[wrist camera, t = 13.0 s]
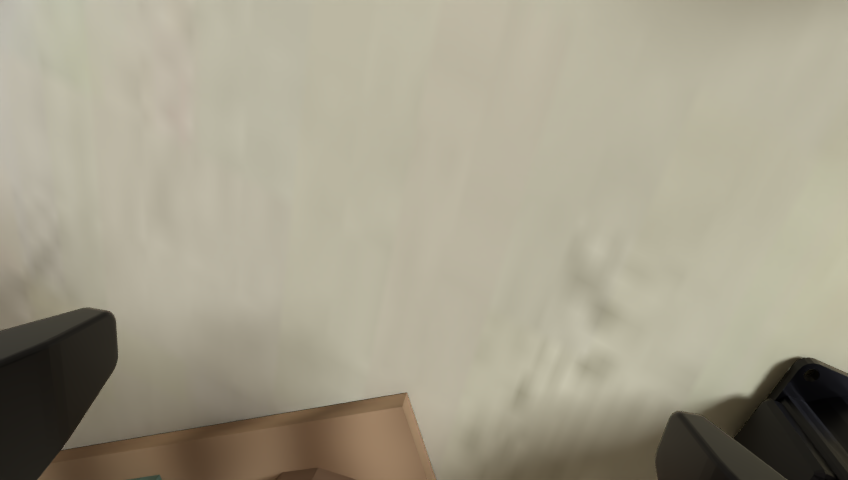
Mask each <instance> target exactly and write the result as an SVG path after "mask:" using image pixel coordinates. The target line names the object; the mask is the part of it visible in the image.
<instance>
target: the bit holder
mask: <svg viewBox="0 0 848 480" xmlns="http://www.w3.org/2000/svg"><path fill="white" fill-rule="evenodd" d="M38 480H436V478H435V475H434V472H433V469H432V466H431V463H430V460H429V457H428V454H427V451H426V448H425V445H424V442H423V439H422V436H421V433H420V430H419V427H418V424H417V421H416V418H415V415H414V412H413V409H412V406H411V403H410V400H409V397H408V394H407V393H403V394H397V395H391V396H385V397H379V398H373V399H367V400H361V401H355V402H349V403H343V404H337V405H331V406H325V407H319V408H313V409H307V410H301V411H295V412H289V413H283V414H277V415H271V416H265V417H259V418H253V419H247V420H241V421H235V422H229V423H223V424H217V425H211V426H205V427H199V428H193V429H187V430H181V431H175V432H169V433H163V434H157V435H152V436H146V437H140V438H134V439H128V440H122V441H116V442H110V443H104V444H98V445H92V446H86V447H80V448H74V449H68V450H62V451H60V452H59V453H58V454H57V456H56V457H55V458H54V460H53V461H52V462H51V463H50V465H49V466H48V467H47V468H46V470H45V471H44V472H43V473H42V475H41V476H40V477H39V478H38Z"/></svg>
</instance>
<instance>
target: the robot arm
mask: <svg viewBox="0 0 848 480" xmlns="http://www.w3.org/2000/svg"><path fill="white" fill-rule="evenodd" d="M117 359H118V346H117V331H116V320H115V317H114V315H113V314H112V313H111V312H110V311H106V310H100V309H94V308H81V309H78V310H74V311H71V312H67V313H63V314H60V315H56V316H52V317H49V318H45V319H41V320H38V321H34V322H31V323H27V324H23V325H20V326H16V327H12V328H9V329H5V330H2V331H0V480H38V478H39V477H40V476H41V475H42V473H43V472H44V471H45V470H46V468H47V467H48V466H49V465H50V463H51V462H52V461H53V460H54V458H55V457H56V456H57V454H58V453H59V452H60V450H61V449H62V448H63V446H64V445H65V443H66V442H67V441H68V439H69V438H70V436H71V435H72V433H73V432H74V430H75V429H76V427H77V426H78V424H79V423H80V421H81V420H82V418H83V416H84V415H85V413H86V412H87V410H88V409H89V407H90V406H91V404H92V403H93V401H94V400H95V398H96V397H97V395H98V394H99V392H100V391H101V389H102V387H103V386H104V384H105V383H106V381H107V380H108V378H109V377H110V375H111V374H112V372H113V370H114V369H115V366H116V363H117ZM810 369H814V371H813V373H812V374H810V375H807V376H804V373H805V372H806V371H807V370H810ZM655 463H656V471H657V476H658V480H848V373H846V372H843V371H841V370H839V369H836V368H834V367H832V366H830V365H827V364H825V363H823V362H821V361H818V360H816V359H813V358H802V359H800V360H798V361H796V362H795V363H794V364H793V365H792V367H791V368H790V369H789V371H788V372H787V373H786V375H785V376H784V377H783V378H782V380H781V381H780V382H779V384H778V385H777V386H776V387H775V389H774V390H773V391H772V393H771V394H770V395H769V396H768V398H767V399H766V400H765V401H763V402H762V403H761V404H760V406H759V407H758V408H757V410H756V411H755V412H754V413H753V415H752V416H751V417H750V419H749V420H748V421H747V423H746V424H745V425H744V426H743V428H742V429H741V430H740V432H739V433H738V434H737V435H736V437H735V438H734V439H733V438H732V437H730V436H729V435H728V434H726V433H725V432H724V431H722V430H721V429H720V428H718V427H717V426H716V425H714V424H713V423H712V422H711V421H709V420H708V419H707V418H705V417H704V416H702V415H699V414H694V413H688V412H682V411H676V412H674V413H673V414H672V415H671V416H670V418H669V420H668V423H667V426H666V428H665V431H664V433H663V436H662V439H661V441H660V444H659V446H658V449H657V452H656V460H655Z"/></svg>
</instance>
